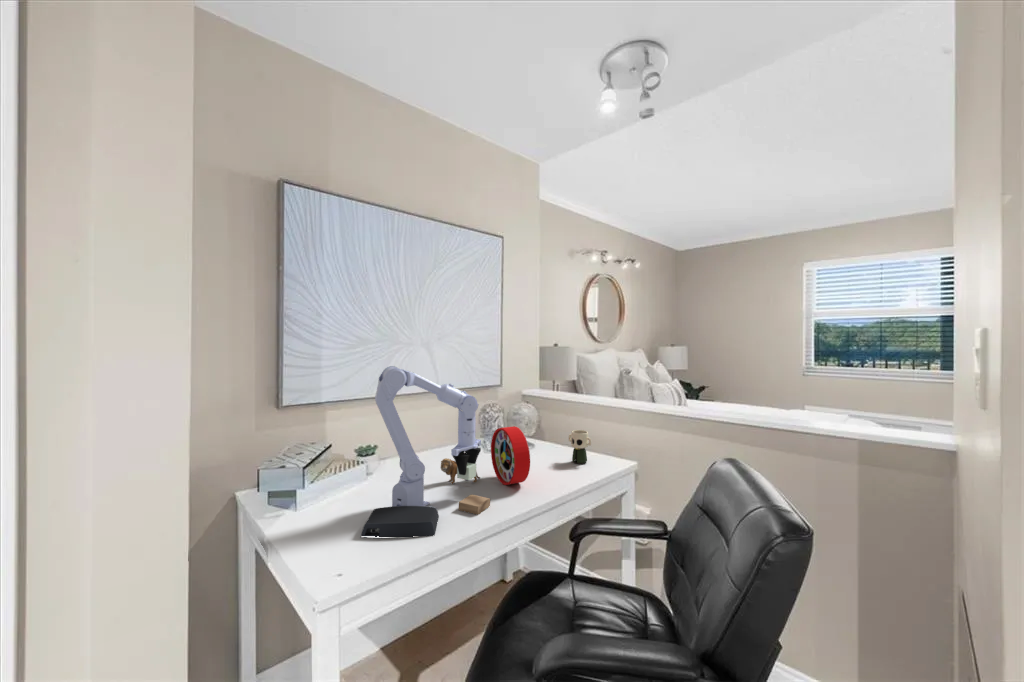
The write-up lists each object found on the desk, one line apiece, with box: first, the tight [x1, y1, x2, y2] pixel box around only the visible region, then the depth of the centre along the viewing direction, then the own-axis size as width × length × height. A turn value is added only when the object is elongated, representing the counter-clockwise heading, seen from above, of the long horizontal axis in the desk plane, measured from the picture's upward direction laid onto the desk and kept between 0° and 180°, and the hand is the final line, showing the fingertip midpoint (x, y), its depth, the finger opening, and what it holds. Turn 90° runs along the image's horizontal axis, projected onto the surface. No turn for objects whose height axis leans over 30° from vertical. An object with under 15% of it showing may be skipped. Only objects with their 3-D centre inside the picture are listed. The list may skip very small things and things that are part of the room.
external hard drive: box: [360, 505, 440, 538], centre depth 115 cm, size 13×19×4 cm
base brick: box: [458, 494, 491, 516], centre depth 127 cm, size 7×7×2 cm
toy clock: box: [490, 425, 531, 486], centre depth 150 cm, size 20×6×20 cm, turn 27°
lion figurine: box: [440, 458, 481, 485], centre depth 151 cm, size 15×5×9 cm, turn 108°
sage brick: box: [456, 463, 477, 481], centre depth 136 cm, size 4×4×4 cm
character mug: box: [568, 429, 592, 464], centre depth 174 cm, size 11×7×13 cm, turn 49°
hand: (466, 472), depth 136 cm, fingers closed on sage brick, 4 cm apart
